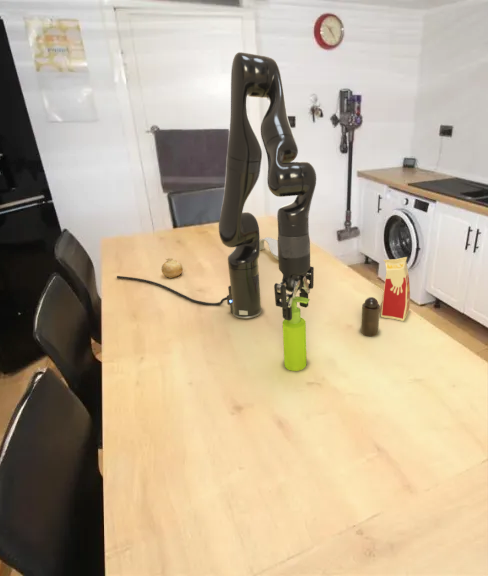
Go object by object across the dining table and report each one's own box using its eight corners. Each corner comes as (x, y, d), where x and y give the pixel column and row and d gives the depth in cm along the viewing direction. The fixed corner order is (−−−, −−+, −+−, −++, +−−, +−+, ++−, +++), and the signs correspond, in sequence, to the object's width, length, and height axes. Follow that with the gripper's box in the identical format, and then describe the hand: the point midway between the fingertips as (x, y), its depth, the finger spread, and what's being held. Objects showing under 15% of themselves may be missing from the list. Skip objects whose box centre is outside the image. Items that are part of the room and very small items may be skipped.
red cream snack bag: (409, 308, 138) (415, 252, 129) (405, 321, 130) (411, 263, 121) (382, 304, 140) (386, 249, 132) (376, 316, 133) (380, 259, 124)
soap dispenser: (307, 372, 106) (306, 304, 97) (281, 369, 107) (278, 302, 99) (312, 359, 111) (311, 294, 103) (287, 356, 113) (285, 291, 104)
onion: (186, 272, 166) (184, 255, 163) (178, 280, 159) (176, 263, 156) (167, 271, 167) (165, 255, 164) (159, 279, 159) (155, 262, 156)
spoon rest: (304, 259, 179) (304, 243, 176) (284, 266, 171) (284, 250, 168) (268, 246, 193) (267, 232, 190) (248, 253, 185) (247, 238, 182)
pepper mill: (358, 333, 123) (359, 299, 118) (365, 325, 128) (367, 292, 123) (374, 338, 121) (376, 303, 116) (380, 330, 125) (383, 296, 120)
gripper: (297, 239, 103) (298, 298, 110) (262, 257, 91) (266, 321, 99) (323, 244, 99) (323, 304, 106) (290, 263, 88) (292, 329, 95)
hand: (295, 312), depth 102 cm, fingers open, 7 cm apart
